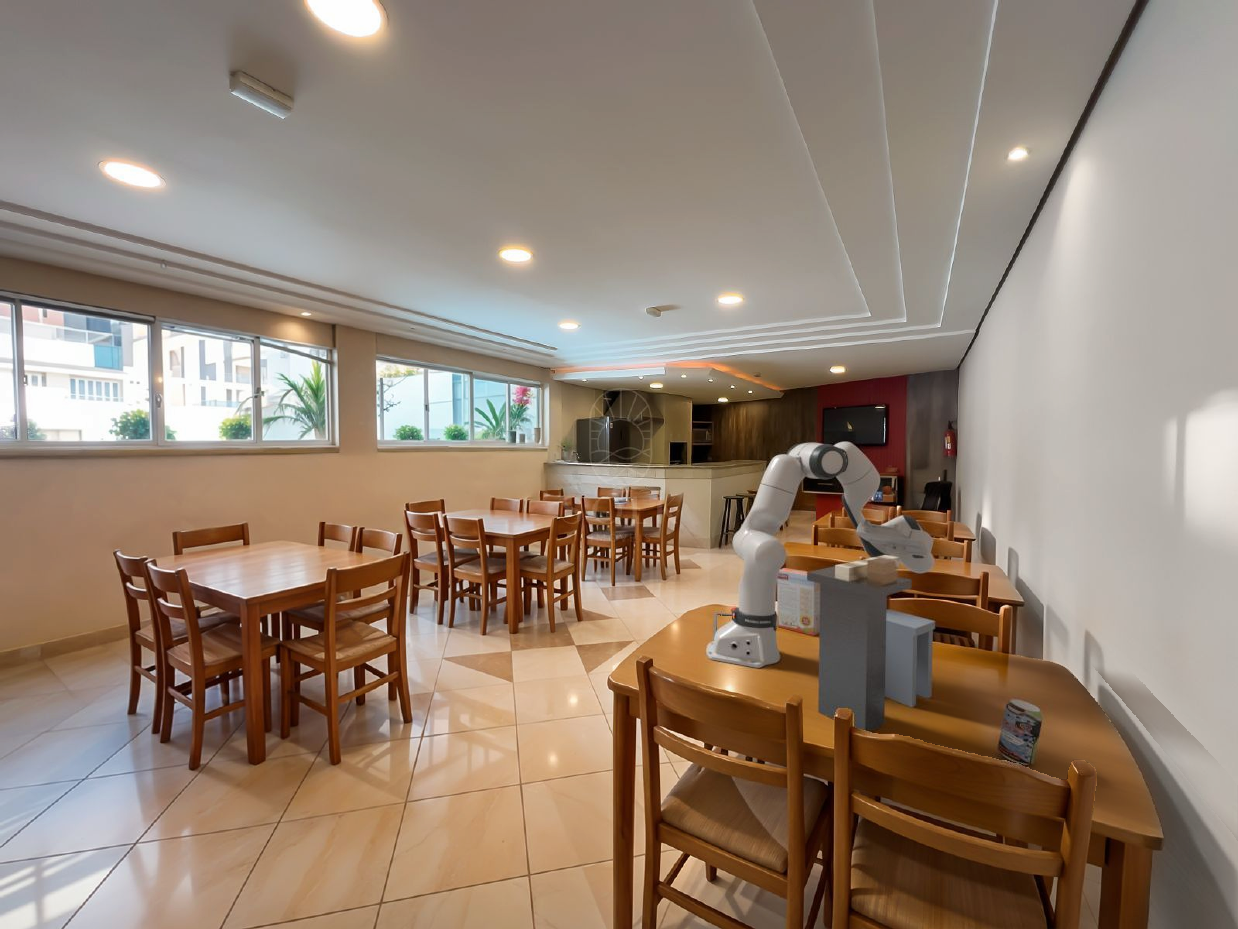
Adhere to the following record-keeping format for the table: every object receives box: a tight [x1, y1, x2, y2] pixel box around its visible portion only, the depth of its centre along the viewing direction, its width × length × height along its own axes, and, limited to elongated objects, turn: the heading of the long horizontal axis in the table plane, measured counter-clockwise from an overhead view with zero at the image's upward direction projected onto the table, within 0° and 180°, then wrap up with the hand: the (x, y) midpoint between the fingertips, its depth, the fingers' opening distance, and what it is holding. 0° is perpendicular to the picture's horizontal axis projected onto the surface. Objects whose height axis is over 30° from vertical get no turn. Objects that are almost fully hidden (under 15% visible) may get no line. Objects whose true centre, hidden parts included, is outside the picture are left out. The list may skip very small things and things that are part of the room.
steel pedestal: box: [806, 558, 912, 732], centre depth 124 cm, size 14×18×39 cm
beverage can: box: [997, 698, 1044, 766], centre depth 106 cm, size 6×7×12 cm
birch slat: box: [834, 555, 900, 581], centre depth 126 cm, size 22×4×3 cm, turn 124°
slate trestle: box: [885, 608, 936, 708], centre depth 135 cm, size 10×12×20 cm
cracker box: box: [776, 567, 820, 637], centre depth 183 cm, size 14×6×21 cm, turn 44°
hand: (880, 524), depth 150 cm, fingers open, 8 cm apart
